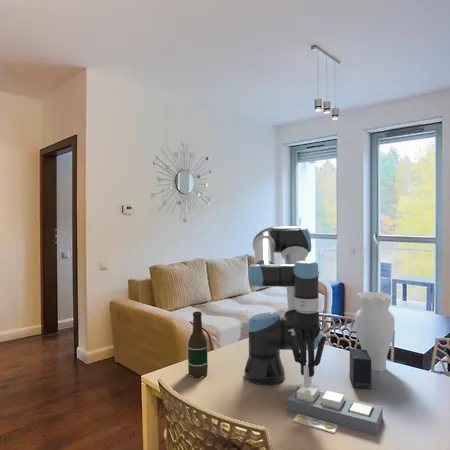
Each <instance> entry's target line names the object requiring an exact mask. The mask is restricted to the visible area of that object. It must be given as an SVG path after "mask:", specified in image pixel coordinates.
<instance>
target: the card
mask: <svg viewBox="0 0 450 450" xmlns="http://www.w3.org/2000/svg"><path fill="white" fill-rule="evenodd" d="M292 421H293V422H294V423H298V424H301V425H305V426H308V427H312V428H315V429H318V430H321V431H325V432H328V433H332V434H335V433H336V432H337V429H338V428H339V425H337V424H333V423H330V422H326V421H322V420H319V419H315V418H312V417H308V416H305V415H301V414H298V413H297V414H296V415H295V417H294V418H293V420H292Z"/></svg>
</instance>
